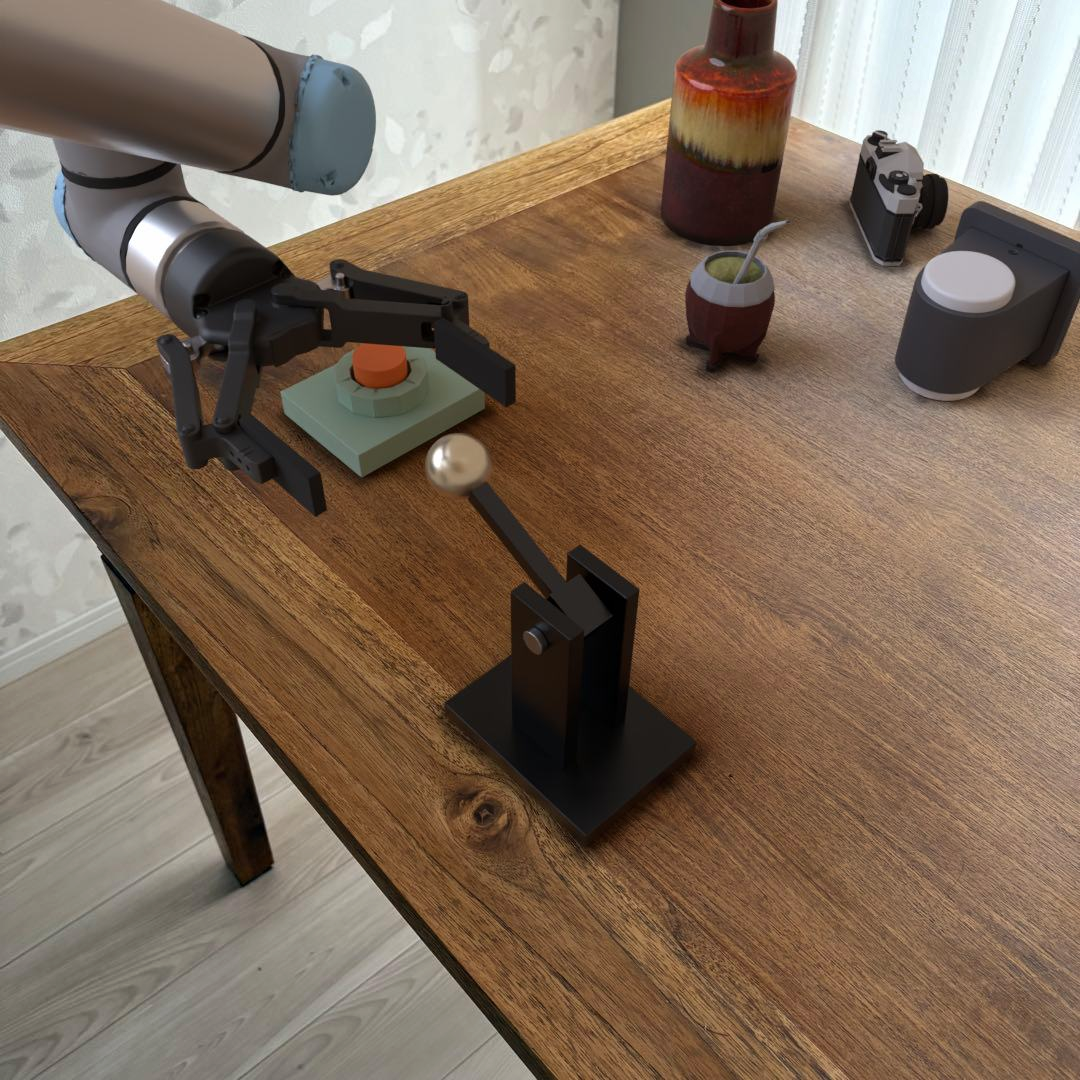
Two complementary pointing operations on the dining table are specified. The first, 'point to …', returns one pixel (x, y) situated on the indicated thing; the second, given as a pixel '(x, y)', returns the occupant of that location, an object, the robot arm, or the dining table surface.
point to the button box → (381, 409)
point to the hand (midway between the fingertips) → (420, 438)
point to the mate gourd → (731, 303)
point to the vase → (728, 127)
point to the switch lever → (509, 526)
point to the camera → (894, 197)
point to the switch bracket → (573, 709)
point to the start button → (379, 365)
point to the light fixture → (988, 304)
